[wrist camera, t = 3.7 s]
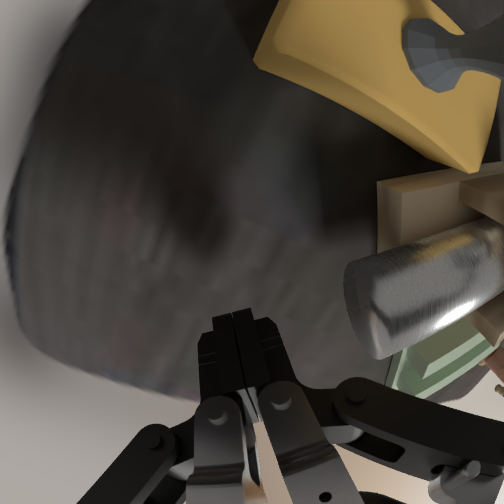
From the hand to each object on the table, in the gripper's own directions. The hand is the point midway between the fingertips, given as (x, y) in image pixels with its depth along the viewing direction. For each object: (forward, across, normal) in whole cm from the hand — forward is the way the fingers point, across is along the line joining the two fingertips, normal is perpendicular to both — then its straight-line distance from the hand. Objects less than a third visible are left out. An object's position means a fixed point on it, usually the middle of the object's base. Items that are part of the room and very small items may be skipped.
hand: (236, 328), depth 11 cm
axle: (-1, -12, 0) cm, 12 cm away
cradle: (+3, -17, +11) cm, 20 cm away
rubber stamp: (+3, -9, -9) cm, 13 cm away
